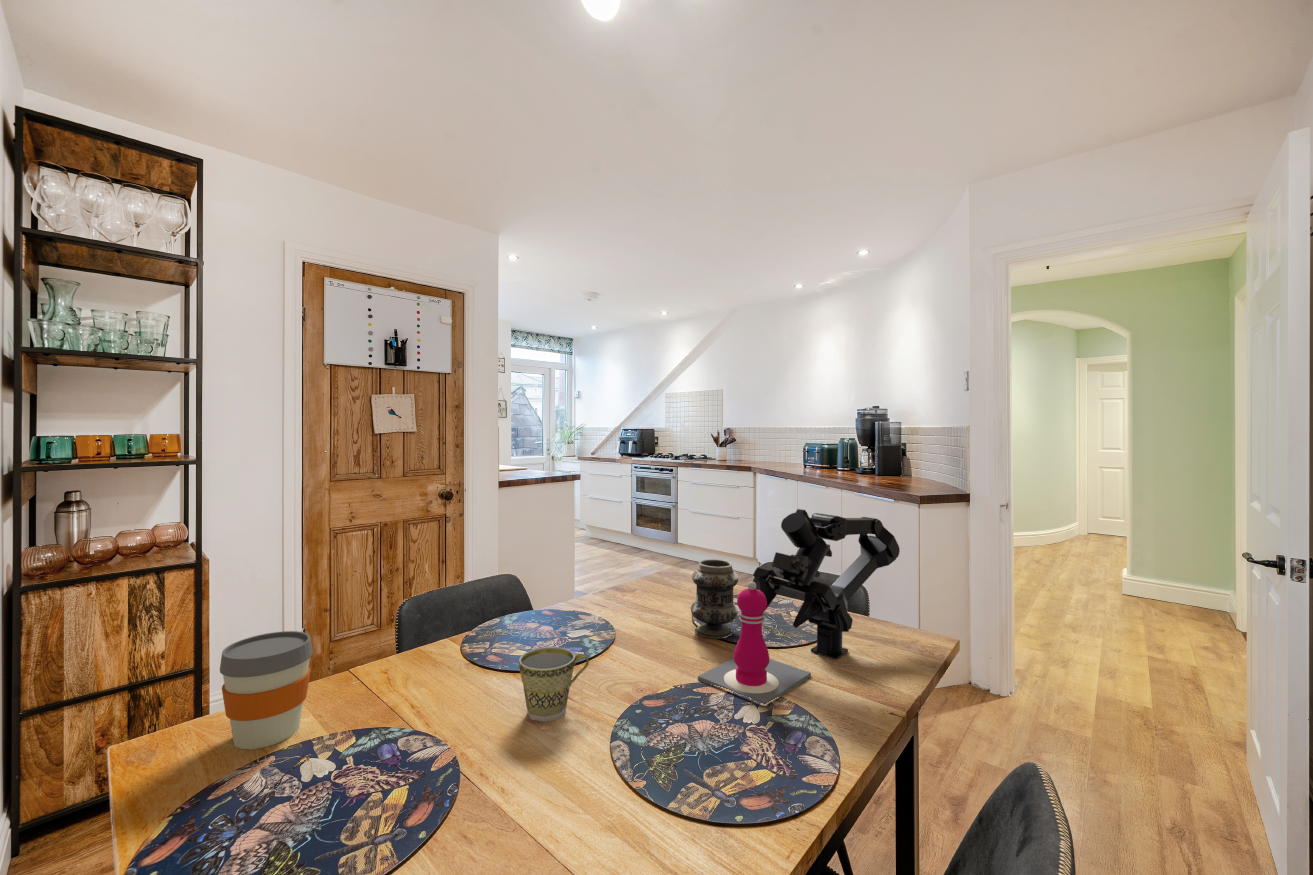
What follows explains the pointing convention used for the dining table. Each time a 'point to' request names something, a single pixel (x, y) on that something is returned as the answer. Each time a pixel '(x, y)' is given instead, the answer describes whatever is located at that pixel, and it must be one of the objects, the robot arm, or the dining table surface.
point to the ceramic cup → (548, 680)
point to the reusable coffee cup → (265, 686)
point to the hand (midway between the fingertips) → (776, 620)
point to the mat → (776, 685)
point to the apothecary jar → (714, 598)
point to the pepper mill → (751, 638)
